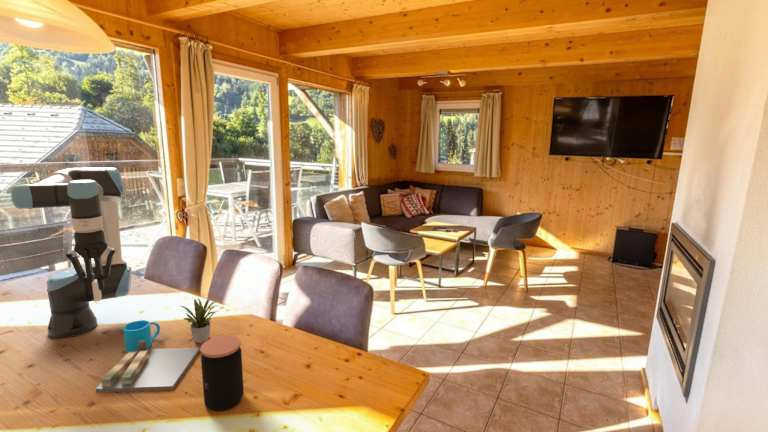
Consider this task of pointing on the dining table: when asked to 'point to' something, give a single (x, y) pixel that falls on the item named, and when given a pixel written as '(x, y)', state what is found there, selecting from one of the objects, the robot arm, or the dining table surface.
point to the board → (157, 371)
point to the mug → (138, 334)
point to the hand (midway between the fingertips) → (98, 299)
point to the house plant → (200, 321)
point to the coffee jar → (222, 372)
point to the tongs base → (122, 365)
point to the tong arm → (134, 367)
